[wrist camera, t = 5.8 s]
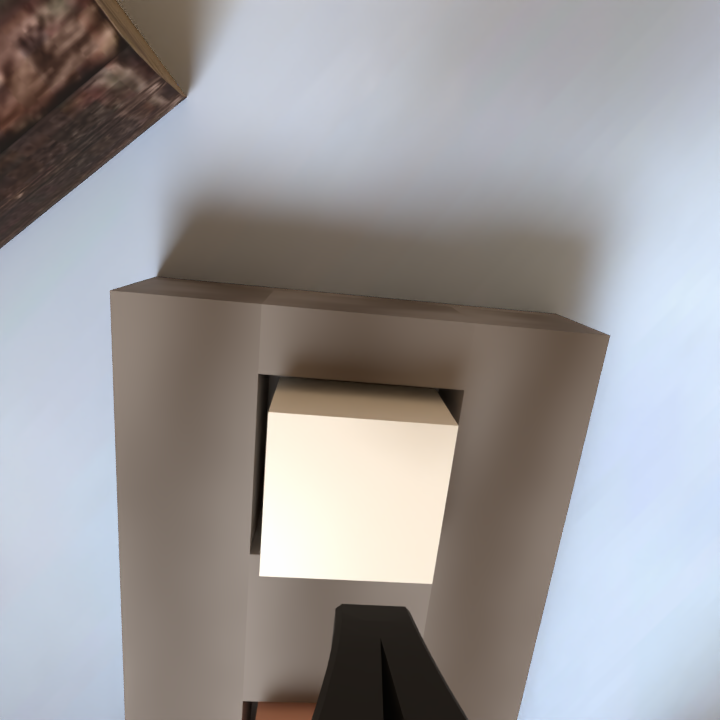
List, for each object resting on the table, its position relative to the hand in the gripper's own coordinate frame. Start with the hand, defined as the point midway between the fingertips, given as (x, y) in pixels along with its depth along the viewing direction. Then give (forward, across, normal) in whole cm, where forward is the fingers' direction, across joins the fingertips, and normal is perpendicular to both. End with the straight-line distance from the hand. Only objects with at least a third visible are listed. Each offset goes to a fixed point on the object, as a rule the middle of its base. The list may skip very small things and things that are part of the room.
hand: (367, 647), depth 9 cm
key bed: (+9, 0, +6) cm, 11 cm away
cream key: (+7, 0, 0) cm, 7 cm away
